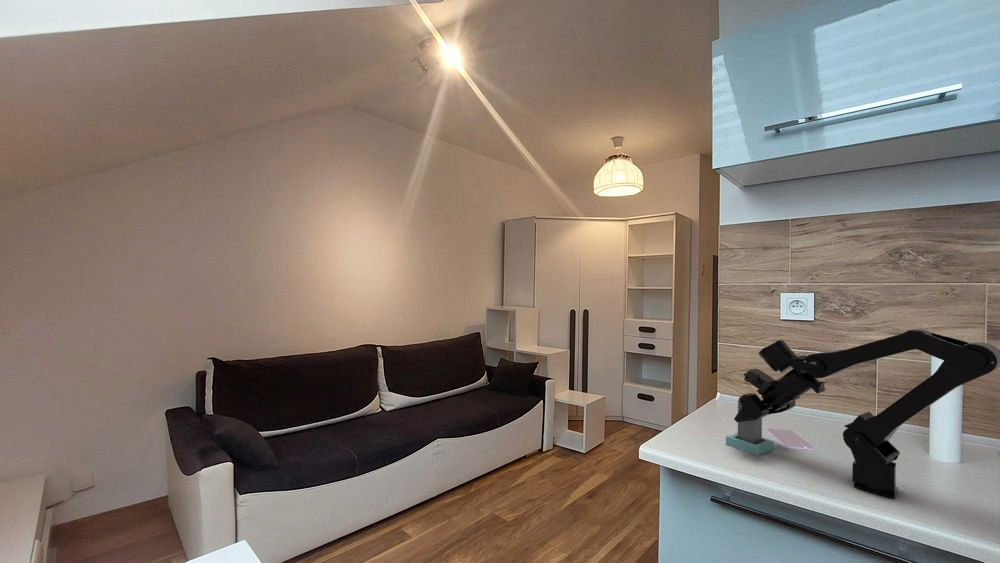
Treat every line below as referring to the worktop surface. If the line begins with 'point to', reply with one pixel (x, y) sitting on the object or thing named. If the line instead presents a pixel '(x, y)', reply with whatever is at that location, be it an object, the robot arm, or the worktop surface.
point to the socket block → (750, 445)
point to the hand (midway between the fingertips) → (744, 417)
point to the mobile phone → (790, 439)
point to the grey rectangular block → (750, 429)
